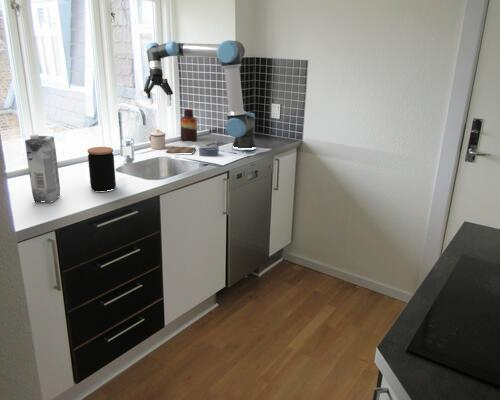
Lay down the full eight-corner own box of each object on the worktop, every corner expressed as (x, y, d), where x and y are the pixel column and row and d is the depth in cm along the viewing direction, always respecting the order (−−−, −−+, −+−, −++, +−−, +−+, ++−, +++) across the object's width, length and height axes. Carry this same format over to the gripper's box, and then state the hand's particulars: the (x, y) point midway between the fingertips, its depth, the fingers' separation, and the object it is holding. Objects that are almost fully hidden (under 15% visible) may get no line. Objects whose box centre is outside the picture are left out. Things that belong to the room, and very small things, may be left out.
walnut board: (195, 149, 271) (195, 147, 270) (191, 154, 258) (191, 152, 257) (172, 148, 272) (172, 146, 271) (166, 153, 258) (166, 151, 258)
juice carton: (63, 195, 185) (55, 132, 176) (53, 204, 176) (45, 138, 166) (41, 194, 185) (33, 131, 176) (30, 203, 175) (21, 137, 166)
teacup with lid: (168, 148, 272) (168, 129, 268) (158, 150, 264) (157, 131, 260) (155, 144, 278) (154, 126, 274) (144, 147, 271) (143, 128, 267)
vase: (191, 137, 302) (191, 108, 295) (199, 140, 294) (199, 110, 287) (177, 139, 295) (177, 109, 288) (186, 142, 288) (185, 111, 281)
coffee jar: (107, 183, 202) (104, 145, 196) (120, 188, 196) (118, 149, 190) (86, 188, 195) (82, 149, 188) (99, 194, 188) (96, 153, 182)
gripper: (168, 74, 274) (172, 108, 273) (134, 68, 255) (139, 104, 254) (175, 70, 269) (180, 105, 269) (142, 64, 250) (147, 101, 250)
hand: (160, 104), depth 262 cm, fingers open, 13 cm apart
